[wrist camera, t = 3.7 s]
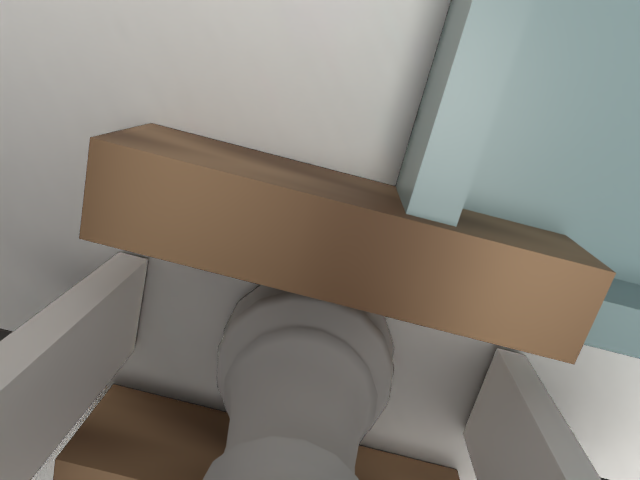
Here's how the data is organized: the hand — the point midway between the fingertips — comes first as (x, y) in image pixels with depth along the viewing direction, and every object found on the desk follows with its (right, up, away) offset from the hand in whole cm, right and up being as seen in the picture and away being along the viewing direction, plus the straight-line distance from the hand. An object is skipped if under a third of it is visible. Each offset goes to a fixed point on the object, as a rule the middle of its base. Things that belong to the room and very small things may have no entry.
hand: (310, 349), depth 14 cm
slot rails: (0, 0, 0) cm, 0 cm away
